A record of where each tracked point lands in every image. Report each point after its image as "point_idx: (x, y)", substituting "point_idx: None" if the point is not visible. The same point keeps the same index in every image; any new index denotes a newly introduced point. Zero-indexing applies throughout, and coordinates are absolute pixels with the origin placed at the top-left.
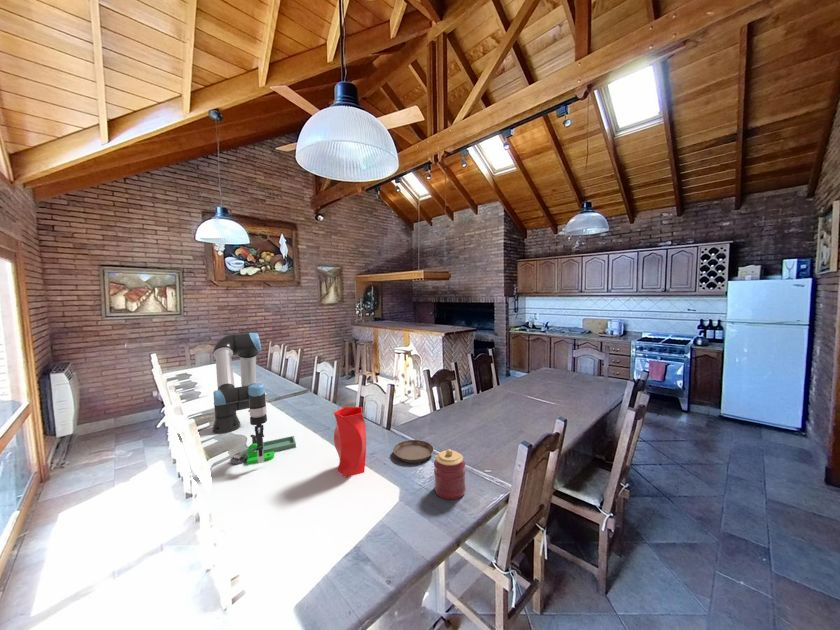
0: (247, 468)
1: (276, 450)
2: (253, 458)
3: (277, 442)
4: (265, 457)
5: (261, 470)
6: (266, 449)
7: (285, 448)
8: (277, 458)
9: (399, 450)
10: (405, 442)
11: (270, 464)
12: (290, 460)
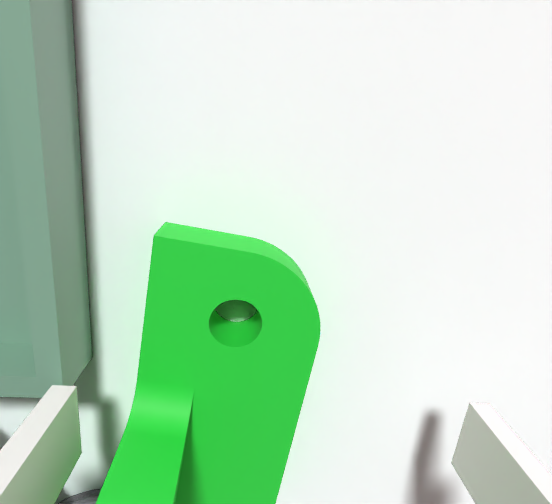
0: (346, 488)
1: (72, 184)
2: (232, 477)
3: None
4: (299, 361)
5: (488, 384)
6: (56, 343)
7: (63, 26)
8: (318, 200)
9: None
10: None
11: (423, 295)
12: (508, 42)
